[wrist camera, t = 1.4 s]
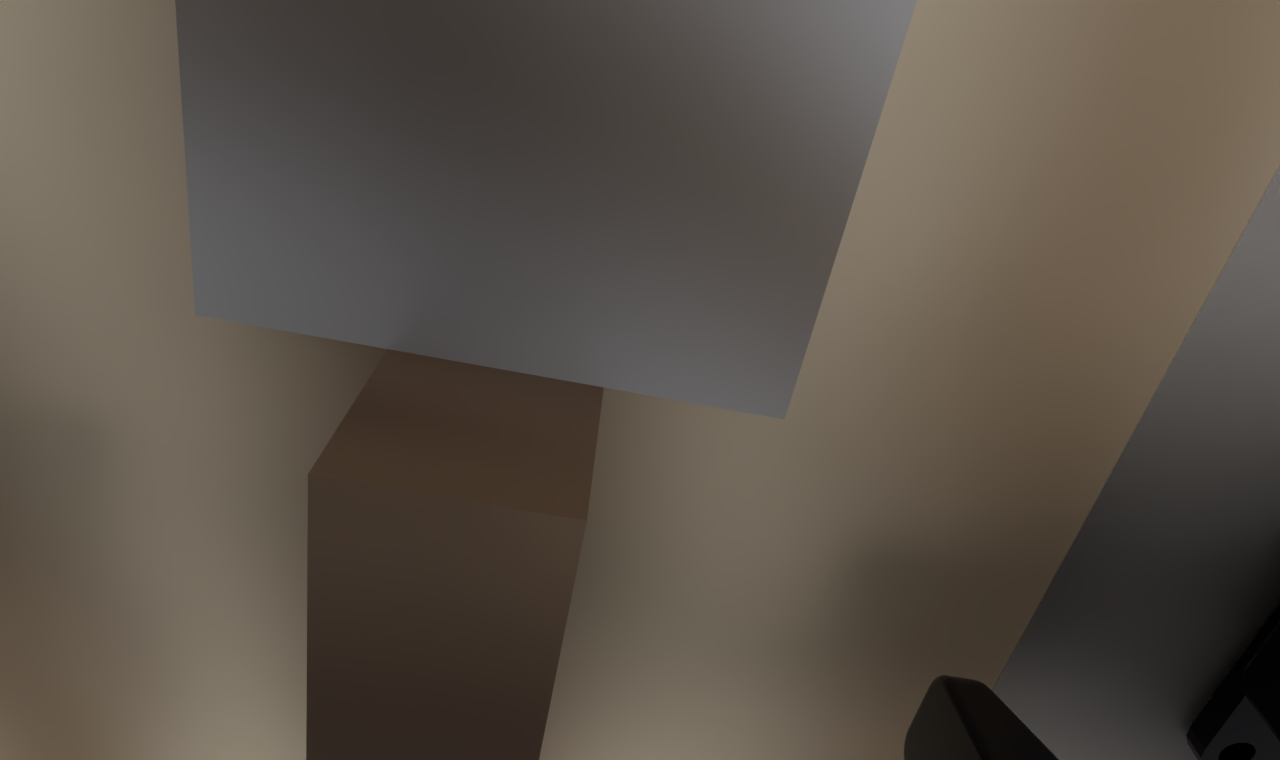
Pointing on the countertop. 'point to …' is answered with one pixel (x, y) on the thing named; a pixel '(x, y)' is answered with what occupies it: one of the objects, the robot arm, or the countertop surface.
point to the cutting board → (625, 403)
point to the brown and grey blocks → (509, 290)
